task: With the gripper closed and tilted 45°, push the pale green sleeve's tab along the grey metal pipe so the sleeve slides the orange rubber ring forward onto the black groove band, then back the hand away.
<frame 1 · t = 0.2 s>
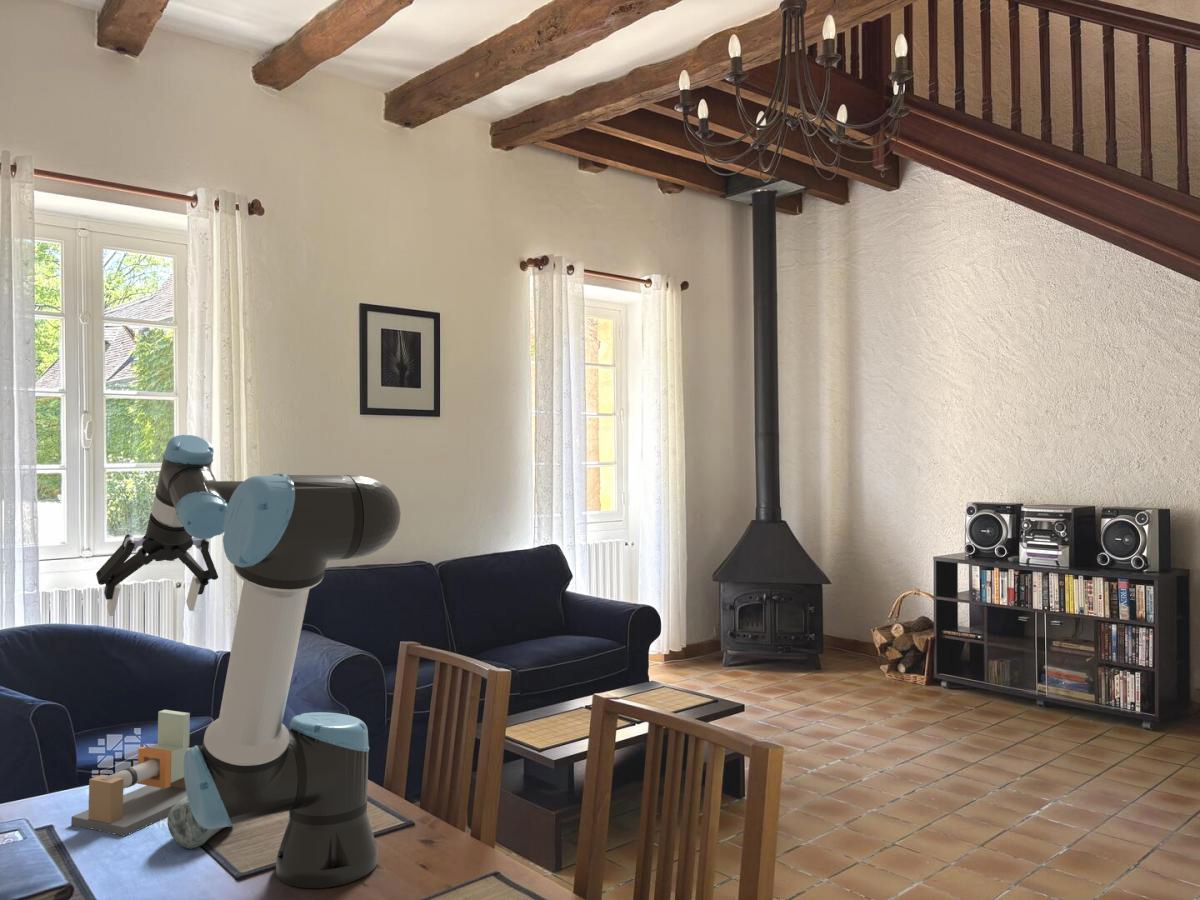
hand: (151, 608, 167), 35 cm above the table, fingers open, 13 cm apart
rig: (145, 809, 161), on the table
ring: (154, 767, 162), point 7 cm above the table, slide at 0.0 cm
sleeve: (168, 745, 165), point 10 cm above the table, slide at 0.0 cm
grey rounded lump: (204, 837, 150), on the table
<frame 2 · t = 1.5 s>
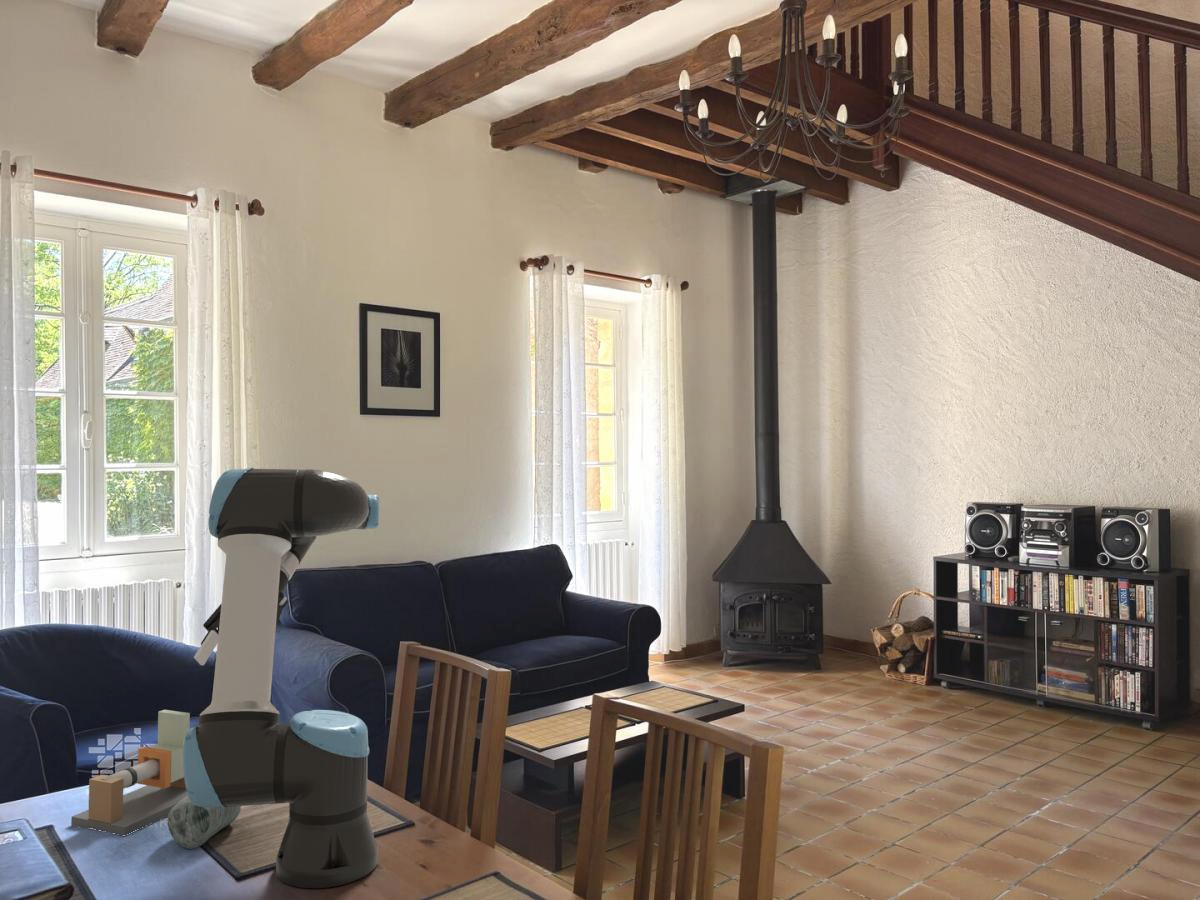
hand: (216, 663, 177), 23 cm above the table, fingers open, 8 cm apart
nothing on the table moved.
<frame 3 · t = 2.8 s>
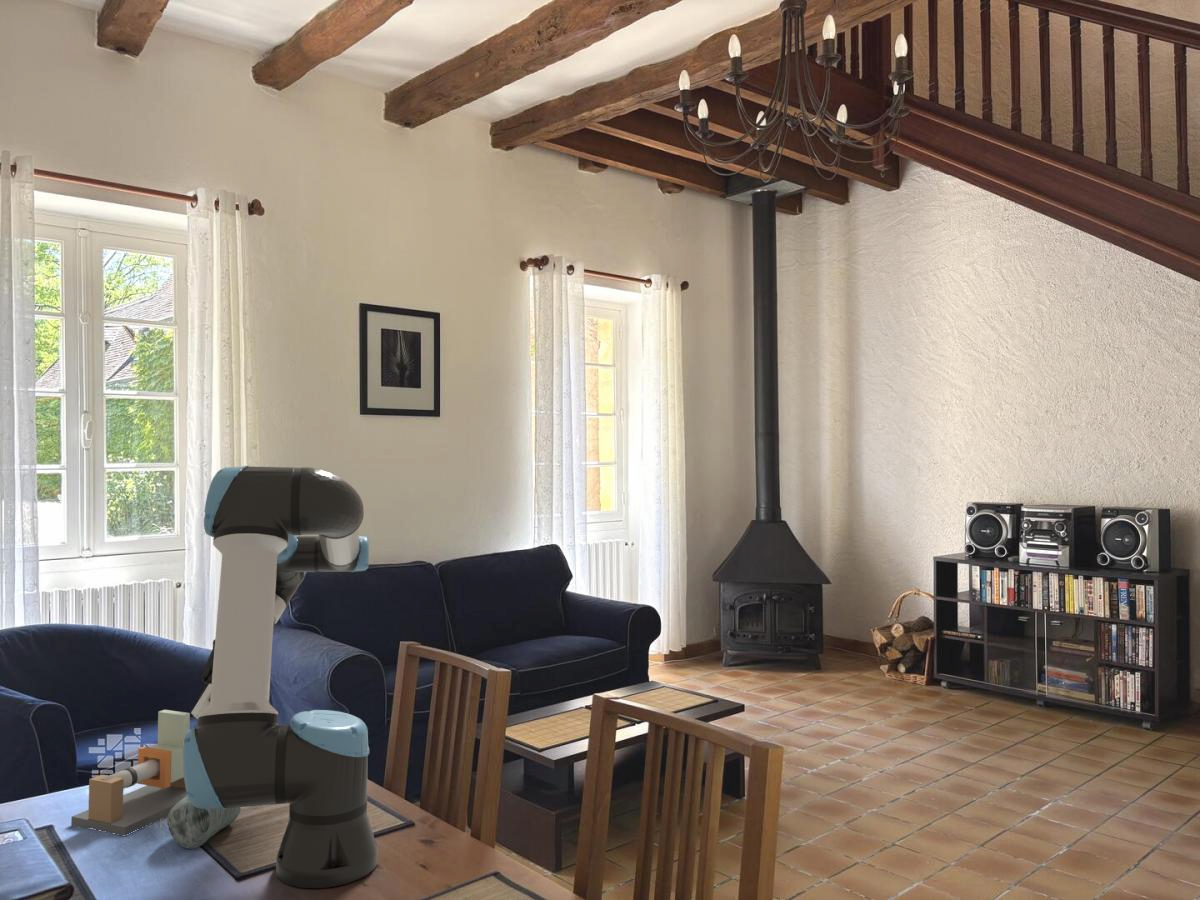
hand: (197, 717, 172), 13 cm above the table, fingers closed
nothing on the table moved.
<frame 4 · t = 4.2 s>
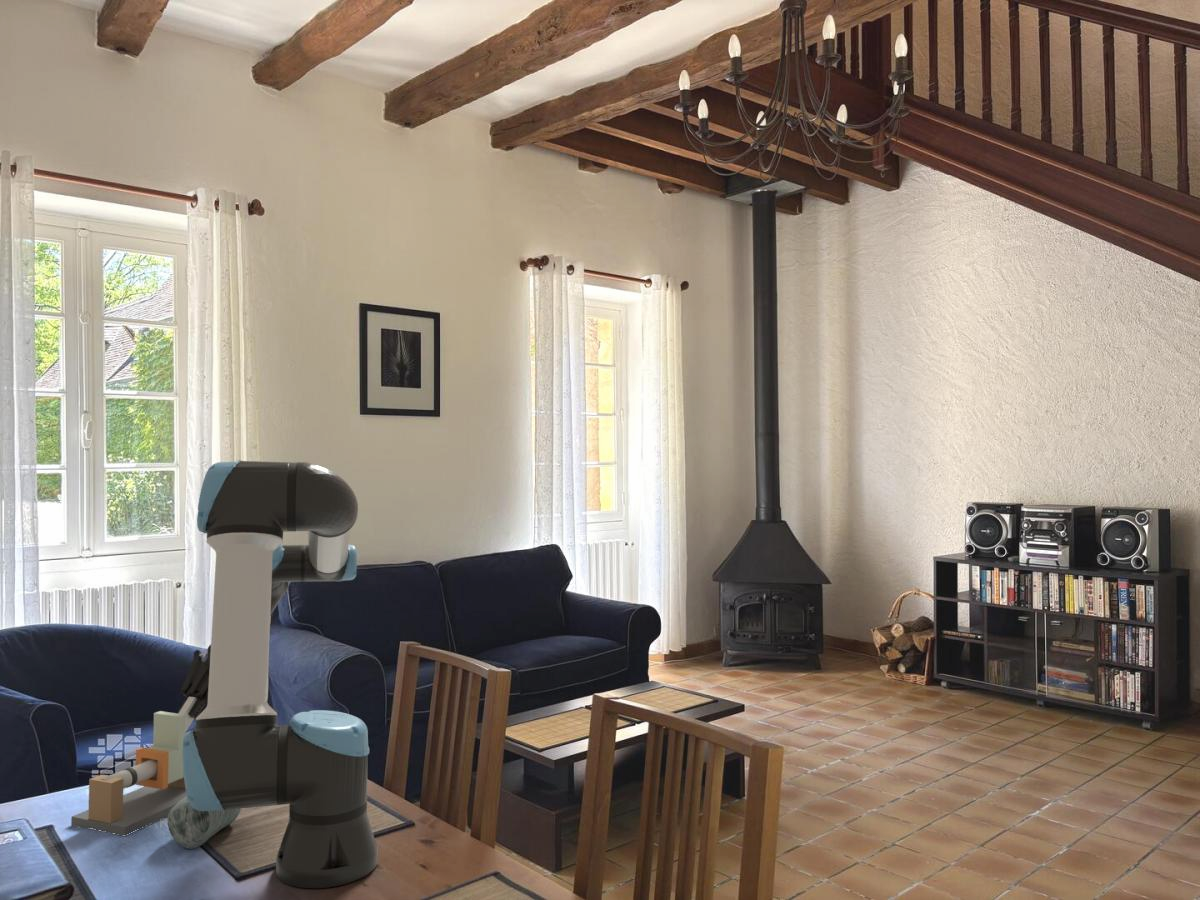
hand: (176, 731, 167), 12 cm above the table, fingers closed
ring: (151, 768, 162), point 7 cm above the table, slide at 0.5 cm, touching sleeve
sleeve: (163, 747, 164), point 10 cm above the table, slide at 1.0 cm, touching gripper, ring
everything else where it was.
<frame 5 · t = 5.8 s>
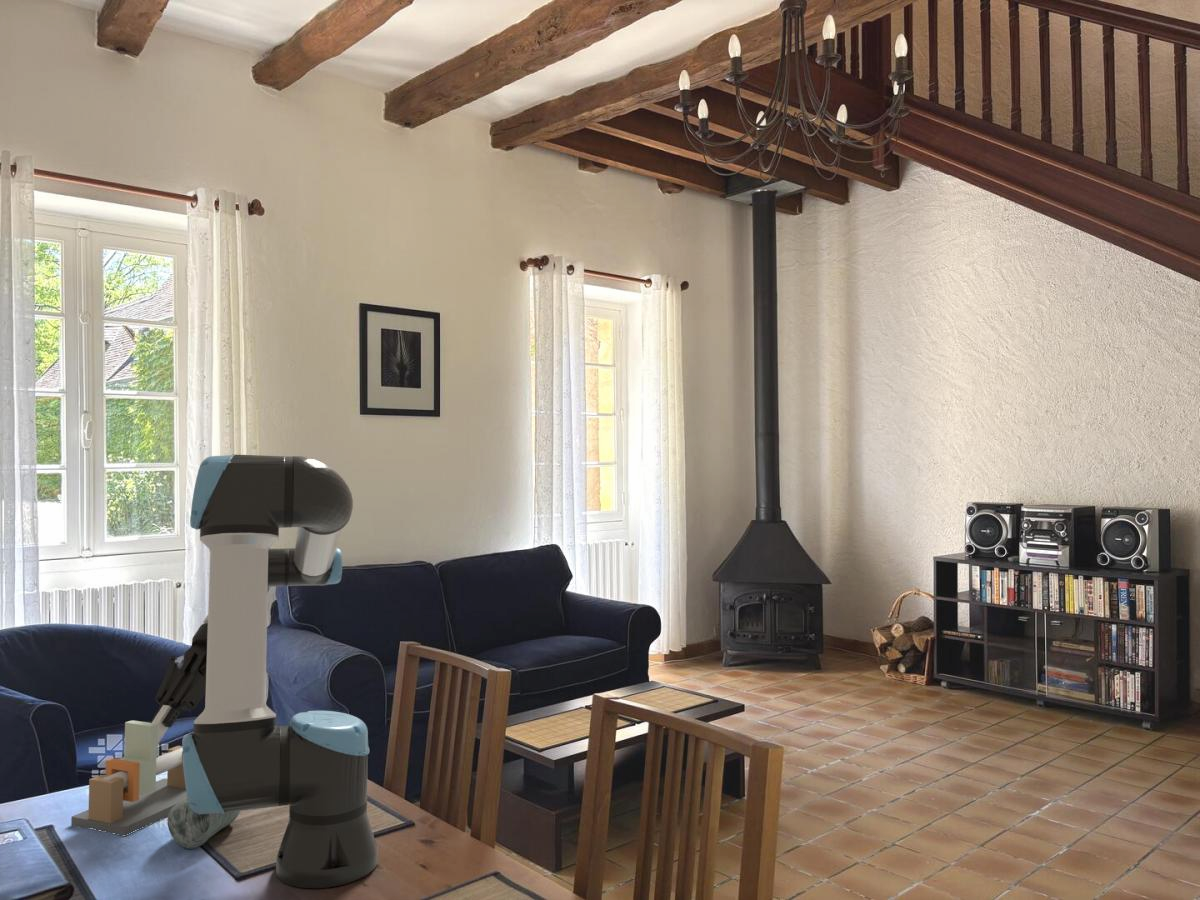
hand: (149, 741, 161), 12 cm above the table, fingers closed
ring: (122, 779, 156), point 7 cm above the table, slide at 6.9 cm, touching sleeve
sleeve: (135, 758, 158), point 10 cm above the table, slide at 7.4 cm, touching gripper, ring
everything else where it was.
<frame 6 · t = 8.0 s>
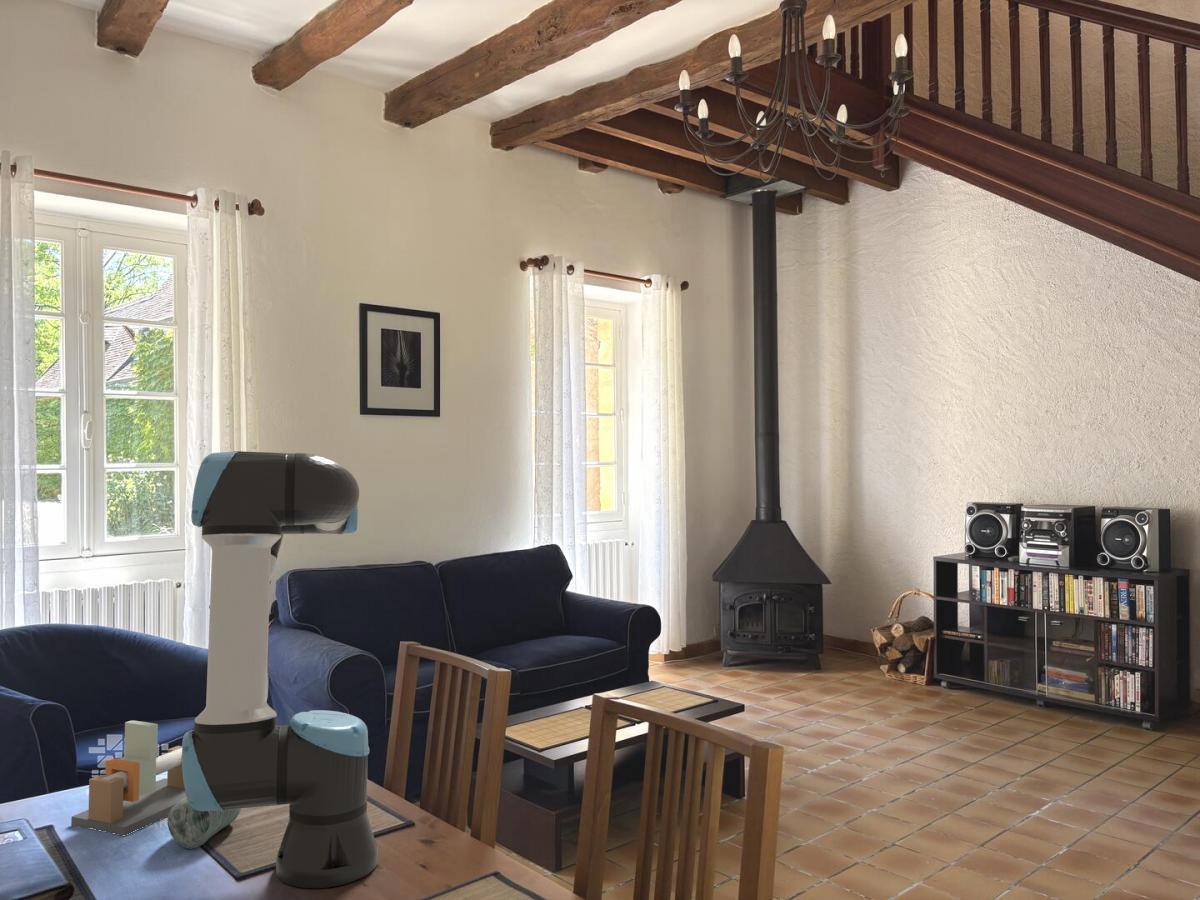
hand: (219, 692, 172), 18 cm above the table, fingers closed
sleeve: (134, 758, 158), point 10 cm above the table, slide at 7.4 cm, touching ring
everything else where it was.
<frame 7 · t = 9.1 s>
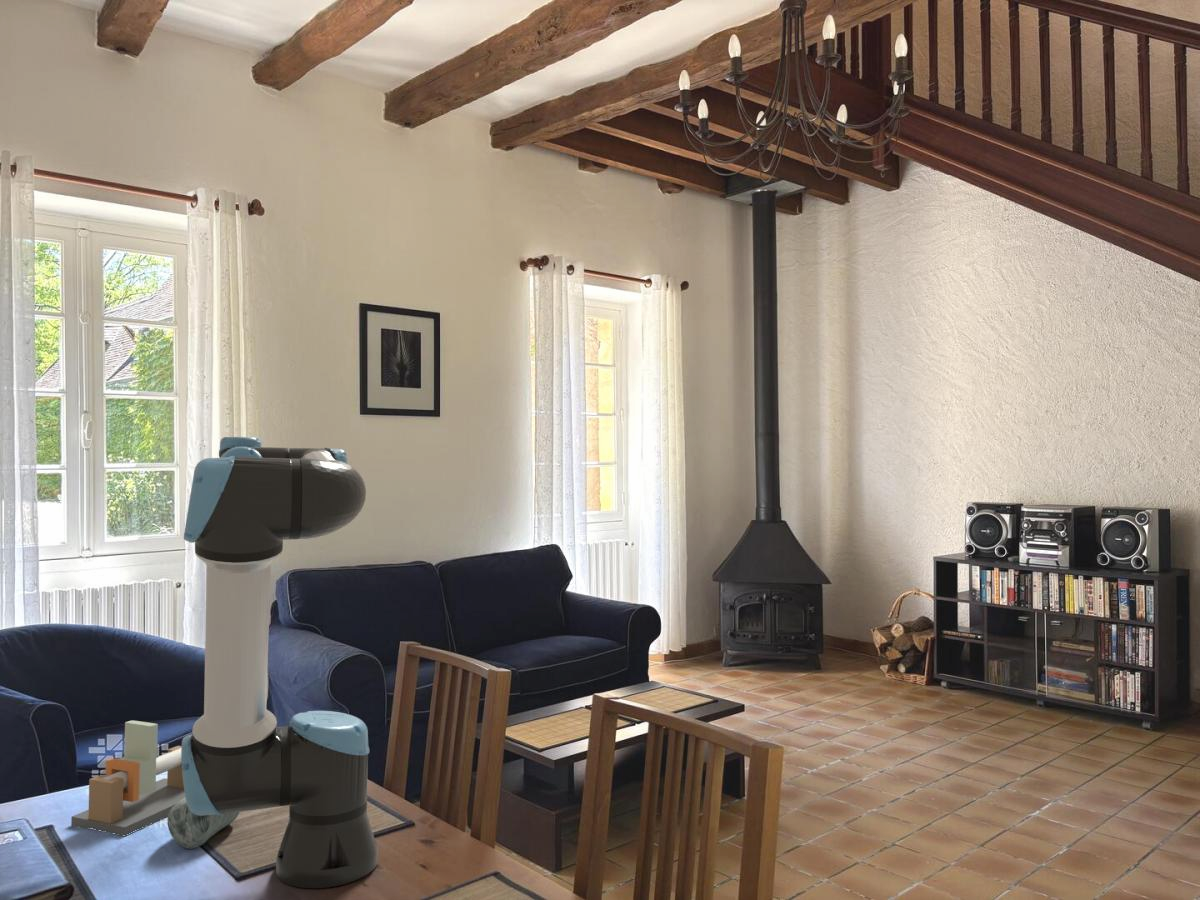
hand: (236, 641, 171), 28 cm above the table, fingers closed
nothing on the table moved.
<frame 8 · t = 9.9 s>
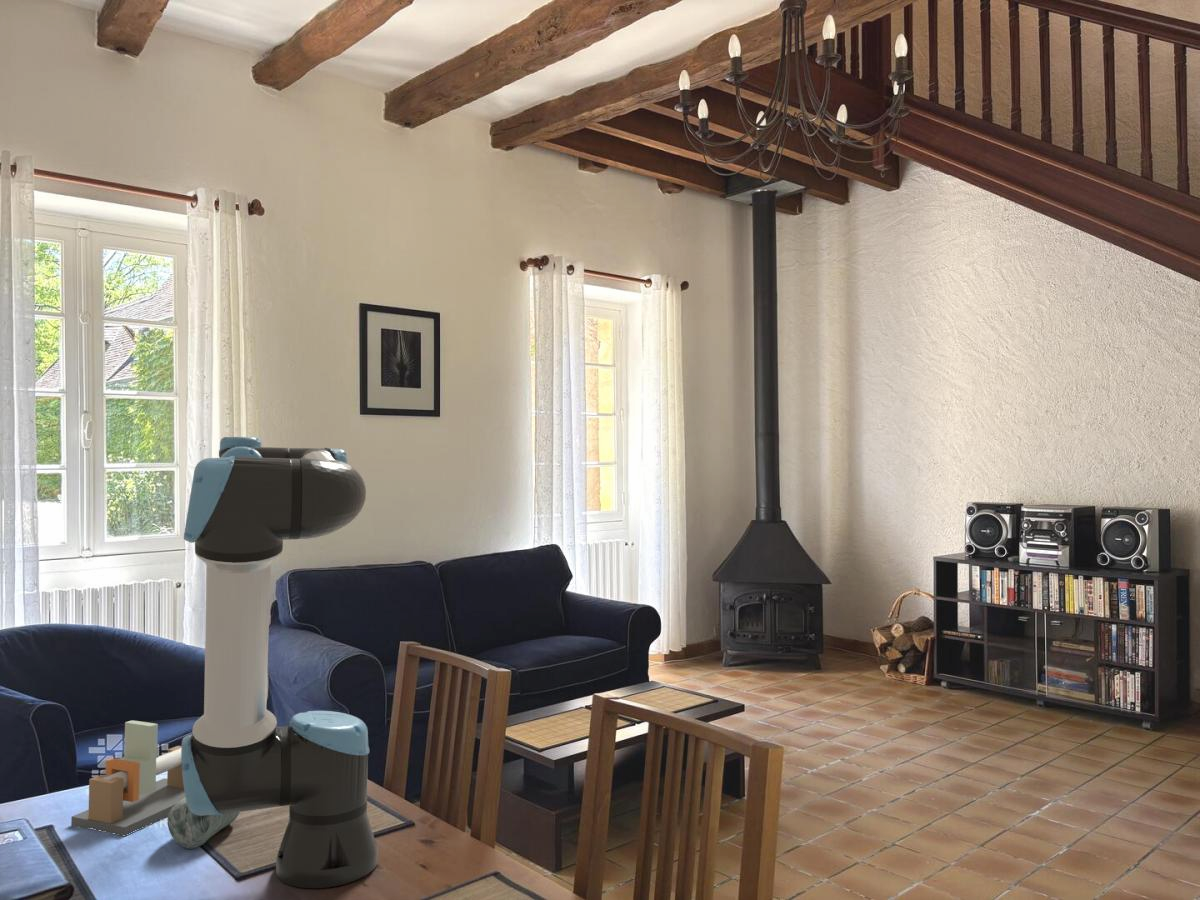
hand: (236, 641, 171), 28 cm above the table, fingers closed
nothing on the table moved.
at the end: ring slide at 6.9 cm; sleeve slide at 7.4 cm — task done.
